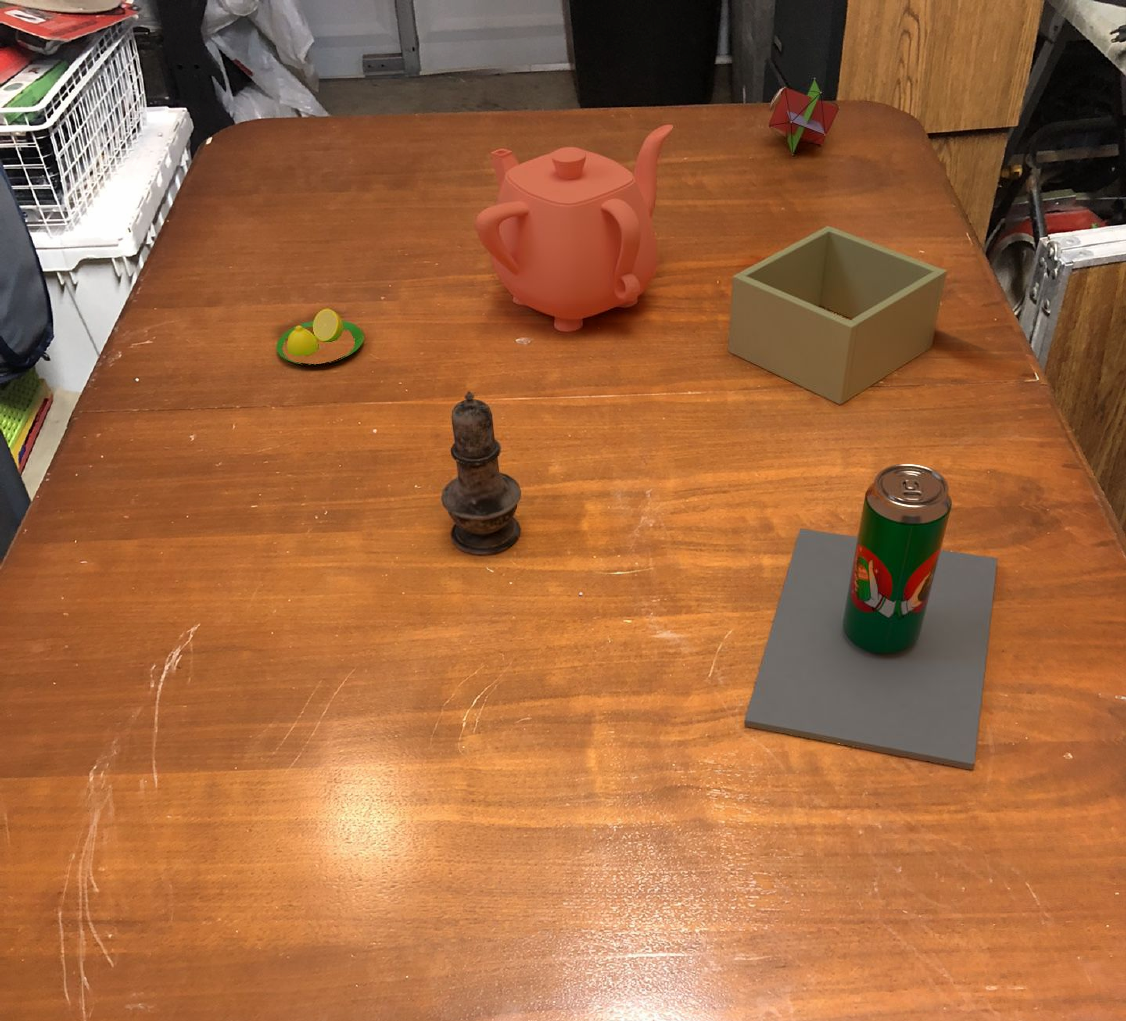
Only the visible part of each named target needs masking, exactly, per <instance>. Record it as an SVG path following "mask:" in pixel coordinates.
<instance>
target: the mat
mask: <svg viewBox="0 0 1126 1021" xmlns="http://www.w3.org/2000/svg"><path fill="white" fill-rule="evenodd" d="M857 538H858V536H853V535H848V534H840V533H834V532H827V531H820V530H814V529H813V530H812V529H808V528H800V529H799V531H798V535H797V538H796V542H795V546H794V548H793V552H792V556H791V559H790V562H789V566H788V569H787V573H786V577H785V579H784V580H785V581H784V583H783V587H782V590H781V593H780V597H779V601H778V604H777V608H776V610H775V614H774V618H773V622H772V625H771V627H770V628H771V629H770V632H769V635H768V639H767V642H766V645H765V649H764V652H763V655H762V659H761V663H760V665H759V670H758V673H757V677H756V680H755V684H754V687H753V691H752V694H751V697H750V700H749V703H748V704H749V705H748V708H747V711H746V714H745V718H744V724H743V726H744V727H747V728H751V729H756V728H757V729H756V730H761V731H766V732H772V733H777V732H778V734H782V733H785V734H784V735H787V734H789V735H788V736H793V735H796V736H795V737H798V736H801V737H800V738H803V737H805V738H804V739H808V738H810V739H809V740H813V739H818V740H817V741H819V740H822V741H821V742H824V741H825V742H824V743H829V742H832V743H831V744H834V743H840V744H843V745H842V746H844V745H847V746H846V747H850V746H854V747H853V748H855V747H857V748H856V749H860V748H861V749H862V750H865V751H870V750H871V751H870V752H876V753H882V754H887V755H891V754H892V755H891V756H896V757H902V758H907V757H908V759H912V760H918V761H922V762H927V761H929V762H928V763H932V764H938V763H939V764H938V765H943V764H944V765H943V766H948V765H949V767H953V766H954V768H959V769H963V770H964V769H965V770H969V769H970V771H973V769H974V768H975V764H976V756H977V755H976V754H977V747H978V737H979V727H980V719H981V710H982V703H983V702H982V700H983V693H984V684H985V675H986V665H987V656H988V648H989V639H990V631H991V621H992V614H993V613H992V612H993V605H994V596H995V595H994V594H995V587H996V586H995V585H996V576H997V569H998V559H999V558H998V557H991V556H985V555H978V554H972V553H964V552H959V551H952V550H945V549H941V551H940V555H939V559H938V563H937V567H936V571H935V575H934V579H933V583H932V587H931V591H930V595H929V600H928V604H927V608H926V612H925V616H924V620H923V624H922V628H921V632H920V636H919V638H918V640H917V641H916V643H915V644H914V645H912V646H911V647H909V648H908V649H906V650H904V651H901V652H899V653H895V654H890V655H877V654H872V653H869V652H866V651H864V650H862V649H860V648H858V647H857V646H856V645H855V644H853V643H852V642H851V641H850V640H849V638H848V637H847V636H846V634H845V632H844V630H843V617H844V611H845V606H846V600H847V594H848V589H849V583H850V578H851V572H852V566H853V561H854V555H855V549H856V544H857ZM791 734H792V735H791ZM828 741H829V742H828Z"/></svg>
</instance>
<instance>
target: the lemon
mask: <svg viewBox="0 0 1126 1021" xmlns="http://www.w3.org/2000/svg"><path fill="white" fill-rule="evenodd" d="M306 327H313V332H314V335H315V336H314V335H313V334H312V333H311V332H310V331H309V330H307V329H305V328H306ZM343 329H345V330H349V331H350V332H351V334H352V336H353V338H355V340H354V341H355V345H354V348H353V350H351V352H350V353H349V354H348V355H346V356H345V357H343V358H341V359H339V360H343V359H344V358H346V357H348V356H350V355H352V354H354V353H355V352H357V350H358V349H359V348H360V347H361V346H362V344H363V342H364V338H365V335H364V332H363V330H362V329H361V328H360V327H359V326H358V325H356V324H355V323H352V322H349V321H346V320H342V318H341V317H340V315H339V314H338V312H337V313H336V312H335V311H334V310H333V309H331V308H324V309H321V310H320V311H319V312H318V313H317V314H316V315H315V317H314V319H313V320H312V321H307V322H304V323H301V324H298V325H296V326H294V327H292V328H290V329H288V330H287V331H285V332H284V333H283V334H282V335H281V336H280V337H279V338H278V340H277V342H276V351H277V353H278V355H279V356H280V357H282V358H283V359H284V360H285V361H287V362H288V361H289V362H291V363H295V364H300V365H302V364H301V363H297V362H294V361H291V360H289V359H288V358H287V357H285V356H286V355H284V353H283V350H282V348H283V345H284V344H283V343H284V341H287V340H284V339H285V338H288V341H287V350H288V352H289V353H290V354H291V355H293V356H308V355H311V354H313V353H315V352H316V351H317V350H318V349H319V344H318V341H317V339H318V340H320V341H323V342H332V341H335V340H337V339H338V338H339V337H340V336H341V334H342V332H343ZM316 338H317V339H316ZM339 360H336V361H333V362H337V361H339ZM333 362H332V363H333ZM330 363H331V362H329V363H328V364H330ZM309 365H311V364H309ZM314 365H315V366H316V364H314ZM323 365H325V363H324V364H323Z"/></svg>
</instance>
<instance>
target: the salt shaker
mask: <svg viewBox="0 0 1126 1021" xmlns="http://www.w3.org/2000/svg"><path fill="white" fill-rule="evenodd" d="M450 416H451V417H450V418H451V427H452V434H453V439H454V443H453V444H452V445H451V447H450V455H451V458H452V459H453V460H454V461H455V463H456V471H457V477H455V478H453V479H451V480H450V481H449V482H448V483H447V484H446V485H445V487H444V488H443V490H442V491H441V496H440V500H441V503H442V506H443V508H444V509H445V510H446V512H447V513H448V515H449V516H450V518H451V520H452V521H453V522H454V525H453V526H452V528H451V531H450V538H451V543H452V544H453V545H454V546H455V547H456V548H457V549H459V550H460V551H461V552H464V553H467V554H469V555H475V556H491V555H496V554H499V553H503V552H505V551H508V549H510V548H512V547H513V546H515V544H516V543H517V542H518V540H519V539H520V537H521V531H522V530H521V529H522V528H521V526H520V522H519V521H518V520H517V519H516V518H515V517H514V516H515V514H516V511H517V508H518V504H519V502H520V500H521V497H522V489H521V486H520V484H519V483H518V481H517V480H516V479H515V478H513V477H512V476H510V475H508V473H507V474H506V473H503V472H500V466H499V456H500V454H501V453H502V446H501V443H500V442H499V441H498V440H497V439H495V438H496V437H495V429H494V428H495V427H494V418H493V412H492V410H491V407H490V406H489V405H488V404H487V403H486V402H485V401H482V400H480V399H477V398H475V395H474V394H473V393H472V392H471V391H470V390H469V391H467V392H466V393H465V395H464V400H461V401H459V402H457V403H456V404H455V406H454V407H453V408H452V411H451V415H450Z"/></svg>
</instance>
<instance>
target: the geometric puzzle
mask: <svg viewBox="0 0 1126 1021" xmlns="http://www.w3.org/2000/svg"><path fill="white" fill-rule="evenodd" d="M807 81H808V82H807V83H804V85H802V86H801V87H799V88H795V87H789V85H788V86H784V87H782V88H780V89H779V90H778V91H777V92H776V93H775V94H774V96H773V98H772V99H771V101H770V104H769V112H772V111H773V110H774V111H773V114H772V115H771V118H770V120H769V121H768V122H769V123H768V124H767V127H769V128H770V130H771V131H772V132H775V133H777V134H779V135H780V136H782V137H783V139H785V140H786V142H787V144H788V146H789V148H787V150H789V152H790V153H791V155H792V156H793V155H795V154H798V153H800V152H801V153H803V152H805V151H808V150H809V148H808V149H804V148H806V147H808V146H810V145H815V147H814V146H813V147H811V148H810V150H812V149H815V148H818V147H823V144H824V141H825V139H826V137H827V135H828V133H829V131H830V129H831V127H832V126H833V123H834V120H835V118H836V116H837V114H838V112H839V110H840V109H841V107H840V106H839V105H838V104H837V103H836V102H834V101H833V98H832V97H831V96H830V95H828V97H827V96H826V95H825V94H824V93H822V91H821V90H820V89H821V88H820V87H822V85H821V84H820V83H819V82H818V81H817V79H816V77H814V78H812V80H810V79H808V80H807ZM811 82H812V84H811V86H810V88H809V89H808V90H807V89H802V88H803V87H805V86H806V85H808V84H809V83H811ZM801 83H802V84H803V82H800V84H801ZM794 85H796V83H795V84H793V86H794ZM798 91H805V92H807V94H804V93H801V92H798ZM823 91H824V92H825V93H827V91H826V89H823ZM823 96H824V97H825V98H826V99H827V100H829V101H830V102H831V103H832V104H830V103H829V102H826V101H823ZM819 97H820V99H819ZM829 97H830V98H829ZM777 130H779V131H781V132H785V133H786V134H785V135H786V137H785V136H783V135H782V134H781V133H779V132H778V131H777ZM777 134H775V136H776V137H777V138H778V139H780V137H779V136H778V135H777ZM788 134H789V135H788ZM800 139H802V140H806V141H801V140H800ZM808 141H809V142H808ZM781 143H783V145H784V146H786V145H785V144H784V142H783V141H781ZM798 143H803V144H807V145H805V146H803V147H801V148H800V149H798V150H796V149H797V148H796V147H797V146H798ZM803 149H804V150H803ZM795 150H796V151H795ZM801 150H802V151H801Z"/></svg>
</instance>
